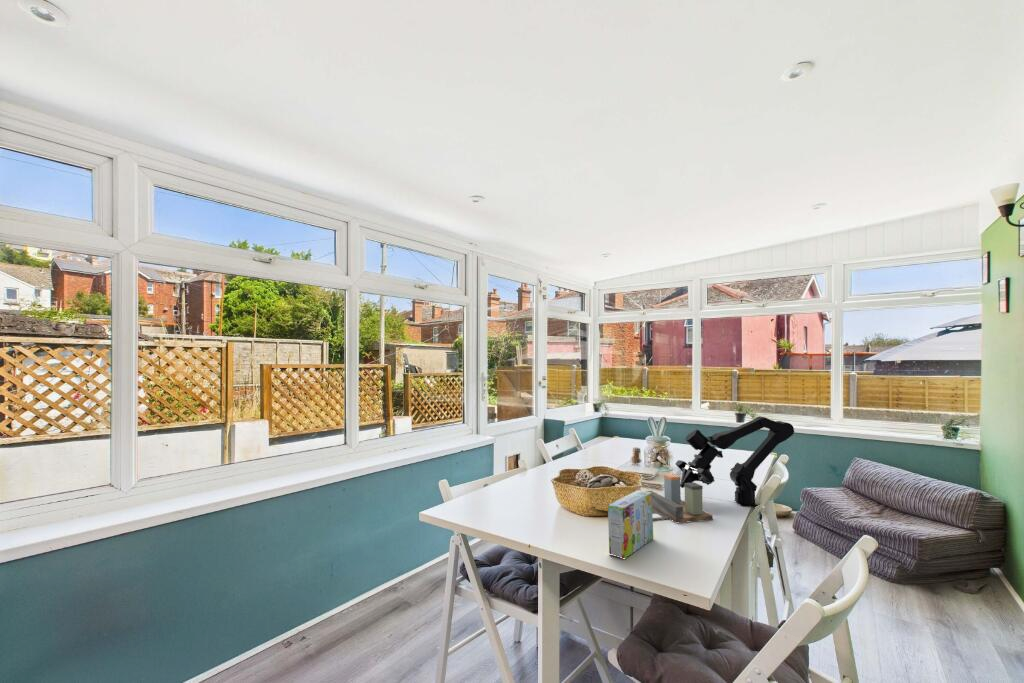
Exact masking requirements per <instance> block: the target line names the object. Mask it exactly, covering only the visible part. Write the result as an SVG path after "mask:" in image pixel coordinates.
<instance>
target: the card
mask: <svg viewBox="0 0 1024 683" xmlns="http://www.w3.org/2000/svg"><path fill="white" fill-rule="evenodd" d="M652 517H653V520H656V521H663V520H662V519H668V520H670V518H668V517H667V516H665V515H663V514H661V513H660V512H658V511H656V510H655V509H653V508H652Z"/></svg>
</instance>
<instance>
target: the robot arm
mask: <svg viewBox="0 0 1024 683" xmlns="http://www.w3.org/2000/svg"><path fill="white" fill-rule="evenodd" d="M763 428H765V429H768V433H767V436H766V437H765V438H764V440H763V441H762V442H761V444H760V445H759V446H758V447H756V449H755V450H754V451H753V452H752V453H751V455H750V456H749V457H748V458H747V459H746V460H745V461H744V462H743V463H740V462H736V463H735V464H734V466H733V467H732V468H730V472H729V478H730V480H731V482H733V483H734V485H735V491H734V502H735V501H736V502H737V503H736V502H735V503H736V504H738V505H739V504H740V505H739V506H741V505H744V506H743V507H758V504H757V503H756V491H757V489H758V485H756V483H755V482H753V478H754V477H755V472H756V470H757V469H758V467H759V466H760V465H761V464H763V462H764V461H765V459H766V458H768V456H769V455H770V454H771V453H772V452H773V450H775V448H776V447H777V446H778V445H779V444H781V443H784V442H786V441H787V440H788V439H790V438H791V437H792V436H793V435H794V434H795V428H794V426H793V424H791V423H790V422H786V421H782V420H776V421H775V420H773V419H769V418H768V417H765V416H761V415H759V416H756V418H753V419H752V420H749V421H747V422H745V423H743V424H741V425H739V426H736V427H734V428H732V429H730V430H723V431H720V432H716V433H714V434H712V435H710V436H705V435H704V434H703V433H702V432H701V431H700V430H699V429H698V428H696V429H695V430H693V431H691V432H690V433H688V434H687V435H686V437H685V439H684V440H685V441H686V443H688V444H689V445H690V446H691V447H692V448H693V449H694V450H695V451H699V452H698V454H694V455H693V457H694V459H692V461H688V462H686V461H683V460H677V461H676V462H675V464H674V465H676V467H677V468H678V469H679V470H680V472H681V480H680V489H681V488H682V489H683V488H684V489H685V486H684V483H693V482H694V483H695V482H701V483H703V484H705V485H706V486H710V485H711V484H712V483H715V481H716V480H715V476H713V473H712V472H711V468H712V462H713V461H714V460H715V459H716V458H724V456H723V450H726V449H728V448H730V447H731V446H733V445H734V444H735V443H736V442H737V441H738V440H740V439H742V438H744V437H746V436H748V435H750V434H752V433H755V432H757V431H759V430H761V429H763ZM720 449H721V450H720ZM749 505H750V506H749Z"/></svg>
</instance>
